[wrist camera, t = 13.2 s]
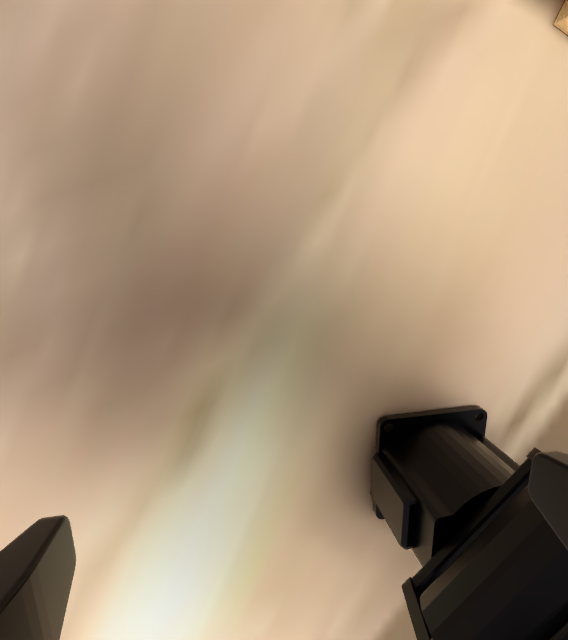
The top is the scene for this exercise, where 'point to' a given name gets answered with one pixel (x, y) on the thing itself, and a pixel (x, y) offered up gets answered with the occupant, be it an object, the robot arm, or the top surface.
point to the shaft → (562, 18)
